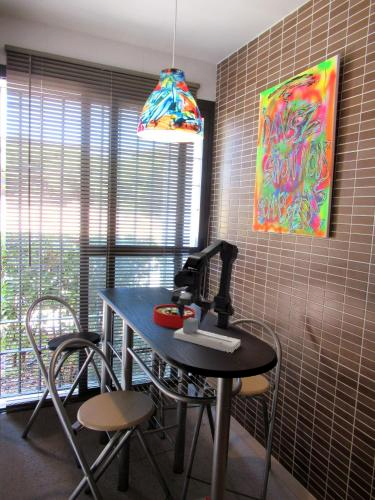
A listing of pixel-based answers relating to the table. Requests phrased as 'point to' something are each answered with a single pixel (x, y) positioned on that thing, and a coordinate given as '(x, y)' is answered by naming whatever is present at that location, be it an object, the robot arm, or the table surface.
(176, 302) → the robot arm
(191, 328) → the fader tab
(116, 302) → the table surface
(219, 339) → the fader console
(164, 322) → the red round tin
